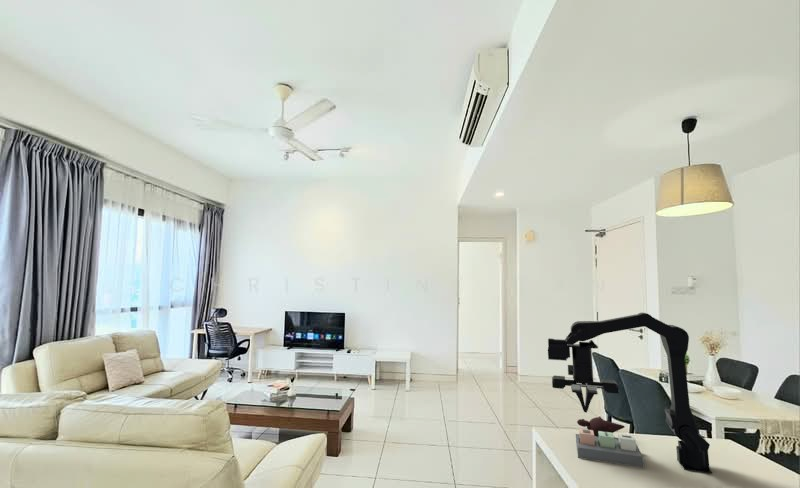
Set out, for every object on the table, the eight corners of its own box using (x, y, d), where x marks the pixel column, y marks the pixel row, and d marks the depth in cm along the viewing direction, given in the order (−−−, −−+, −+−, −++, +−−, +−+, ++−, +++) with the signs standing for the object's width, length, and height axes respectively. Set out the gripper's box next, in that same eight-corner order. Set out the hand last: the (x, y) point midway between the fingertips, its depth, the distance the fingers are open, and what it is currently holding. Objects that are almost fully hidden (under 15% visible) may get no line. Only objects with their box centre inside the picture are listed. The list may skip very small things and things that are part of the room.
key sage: (613, 445, 117) (612, 432, 117) (615, 450, 113) (614, 436, 114) (599, 443, 118) (598, 430, 119) (600, 448, 115) (599, 435, 115)
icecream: (617, 414, 132) (573, 416, 134) (625, 416, 126) (579, 418, 127) (622, 436, 130) (577, 438, 132) (631, 439, 123) (584, 441, 125)
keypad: (635, 451, 117) (635, 441, 118) (643, 467, 107) (642, 456, 108) (576, 443, 124) (575, 433, 124) (578, 457, 114) (577, 447, 114)
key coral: (593, 442, 119) (592, 429, 119) (595, 448, 115) (594, 434, 116) (579, 440, 121) (579, 427, 121) (580, 445, 117) (579, 432, 117)
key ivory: (633, 448, 115) (632, 434, 115) (636, 453, 111) (635, 439, 112) (618, 446, 116) (618, 432, 117) (621, 451, 113) (620, 437, 113)
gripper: (611, 358, 124) (615, 407, 123) (551, 355, 132) (553, 401, 130) (616, 365, 114) (620, 419, 113) (551, 361, 121) (553, 411, 120)
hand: (585, 412), depth 119 cm, fingers closed
